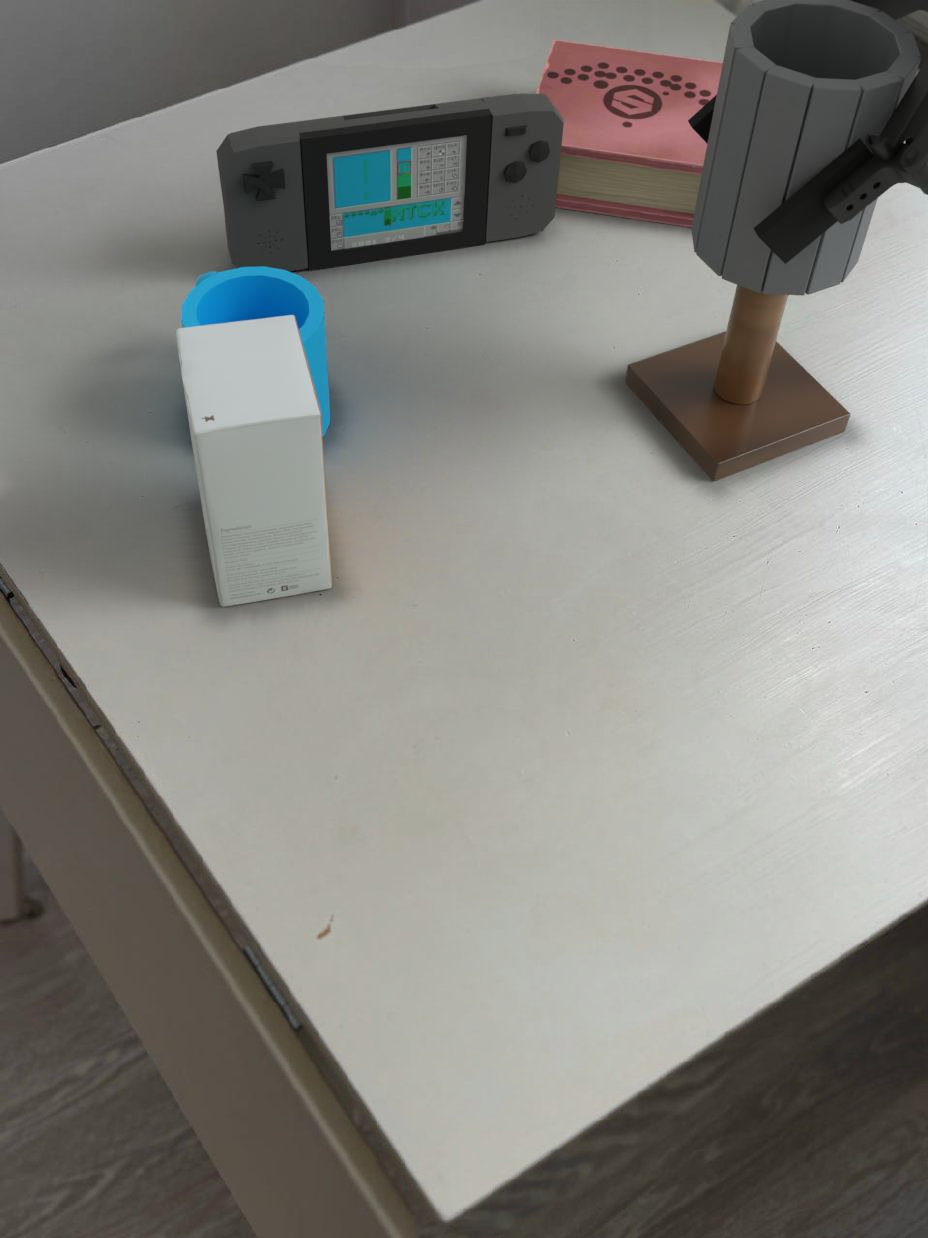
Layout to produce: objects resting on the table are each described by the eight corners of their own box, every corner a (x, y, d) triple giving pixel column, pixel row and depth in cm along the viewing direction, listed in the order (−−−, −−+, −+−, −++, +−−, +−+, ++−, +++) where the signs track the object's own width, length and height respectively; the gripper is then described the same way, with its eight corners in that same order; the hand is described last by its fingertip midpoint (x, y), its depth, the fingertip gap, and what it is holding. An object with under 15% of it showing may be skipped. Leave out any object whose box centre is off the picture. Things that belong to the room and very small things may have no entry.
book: (724, 231, 98) (737, 170, 94) (516, 201, 99) (520, 139, 95) (739, 126, 107) (751, 66, 103) (547, 99, 108) (553, 39, 104)
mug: (354, 433, 83) (350, 326, 77) (234, 480, 80) (219, 374, 74) (265, 324, 89) (254, 217, 83) (150, 365, 86) (129, 258, 80)
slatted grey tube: (868, 299, 74) (934, 93, 64) (698, 291, 74) (741, 84, 64) (843, 200, 79) (901, -2, 70) (686, 192, 79) (723, -10, 70)
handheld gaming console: (236, 285, 92) (220, 153, 84) (228, 261, 94) (213, 129, 86) (555, 237, 97) (568, 107, 89) (543, 215, 98) (555, 85, 90)
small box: (334, 591, 75) (323, 415, 65) (219, 610, 74) (190, 433, 64) (309, 488, 80) (295, 310, 70) (201, 505, 79) (171, 326, 69)
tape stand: (845, 431, 85) (907, 249, 74) (713, 481, 82) (759, 299, 71) (751, 338, 90) (796, 156, 80) (624, 382, 87) (654, 198, 77)
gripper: (1279, 26, 59) (850, 354, 69) (1033, -180, 73) (704, 119, 82) (1229, -92, 54) (774, 280, 64) (975, -290, 68) (631, 43, 77)
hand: (735, 189), depth 73 cm, fingers closed on slatted grey tube, 9 cm apart
